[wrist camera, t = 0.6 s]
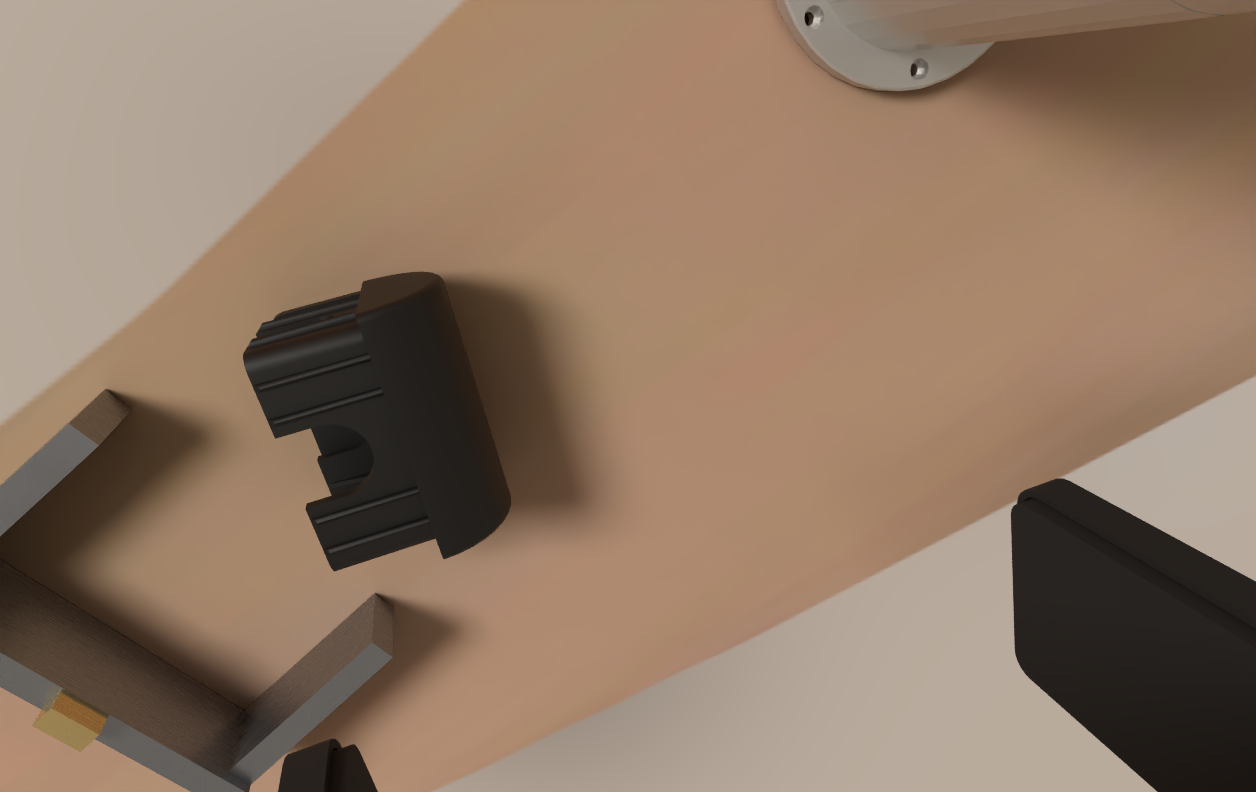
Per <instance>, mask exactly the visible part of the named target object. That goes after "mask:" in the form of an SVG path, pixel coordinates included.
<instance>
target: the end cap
mask: <svg viewBox="0 0 1256 792" xmlns="http://www.w3.org/2000/svg"><path fill="white" fill-rule="evenodd" d="M256 336H257V338H254V339H252V340H251V342H250V344H249V345H248V347H247V349H246V350H245V352H244V354H243V360H244V365H245V369H246V372H247V374H248V377H249V379H250V381H251V384H252V386H253V388H254V391H255V393H256V395H257V398H258V400H259V402H260V405H261V407H262V409H263V412H264V414H265V416H266V419H267V421H268V423H269V425H270V428H271V430H272V432H273V435H274V437H275V439H276V438H279V437H282V436H286V435H289V434H293V433H296V432H299V431H303V430H306V429H310V428H311V430H312V432H313V435H314V437H315V440H316V442H317V444H318V447H319V449H320V452H321V454H322V455H321V456H318V460H317V461H318V463H319V466H320V468H321V470H322V473H323V475H324V478H325V480H326V483H327V485H328V487H329V490H330V492H331V495H332V496H330V497H326V498H323V499H320V500H317V501H313V502H310V503H307V505H306V511H307V514H308V516H309V518H310V520H311V523H312V525H313V527H314V530H315V532H316V534H317V537H318V539H319V541H320V544H321V546H322V548H323V551H324V553H325V555H326V558H327V560H328V562H329V564H330V566H331V568H332V570H333V571H337V570H340V569H343V568H346V567H349V566H352V565H356V564H359V563H362V562H365V561H368V560H371V559H374V558H377V557H380V556H383V555H386V554H389V553H393V552H396V551H399V550H402V549H405V548H408V547H411V546H414V545H417V544H420V543H423V542H426V541H430V540H433V539H436V540H437V543H438V546H439V548H440V551H441V554H442V557H443V559H446V558H449V557H451V556H454V555H457V554H459V553H461V552H463V551H465V550H467V549H469V548H471V547H473V546H475V545H476V544H478V543H479V542H481V541H483V540H484V539H485V538H487V537H488V536H489V535H490V534H492V533H493V532H494V531H495V530H496V529H497V528H498V527H499V526H500V525H501V524H502V522H503V521H504V519H505V518H506V516H507V515H508V513H509V509H510V506H511V496H510V492H509V489H508V486H507V483H506V479H505V476H504V473H503V470H502V467H501V463H500V460H499V457H498V454H497V451H496V447H495V444H494V441H493V438H492V435H491V431H490V428H489V425H488V422H487V419H486V415H485V412H484V409H483V406H482V403H481V399H480V396H479V393H478V390H477V387H476V383H475V380H474V377H473V374H472V371H471V367H470V364H469V361H468V358H467V355H466V352H465V348H464V345H463V342H462V339H461V336H460V332H459V329H458V326H457V323H456V320H455V316H454V313H453V310H452V307H451V304H450V300H449V297H448V294H447V291H446V288H445V284H444V282H443V280H442V279H441V277H440V276H439V275H437V274H434V273H430V272H410V273H401V274H395V275H390V276H385V277H380V278H376V279H372V280H367V281H363V283H362V288H361V291H359V292H355V293H351V294H347V295H344V296H340V297H336V298H332V299H329V300H325V301H321V302H318V303H314V304H310V305H306V306H303V307H299V308H295V309H291V310H288V311H284V312H282V313H280V314H278V315H276V317H275V318H274V320H272V321H268V322H265V323H262V325H261V327H260V329H259V330H258V332H257V333H256Z"/></svg>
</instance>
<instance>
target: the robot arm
mask: <svg viewBox="0 0 1256 792" xmlns="http://www.w3.org/2000/svg"><path fill="white" fill-rule="evenodd" d="M775 1H776V4H777V7H778V10H779V13H780V15H781V17H782V18H783V20H784V22H785V24H786V25H787V27H788V29H789V31H790V33H791V34H792V36H793V38H794V39H795V41H796V42H797V43H798V44H799V45H800V47H801V48H802V49H803V50H804V51H805V52H806V54H807V55H808V56H809V57H810V58H811V60H813V61H814V62H815V63H817V64H818V65H819V66H820V67H822V68H823V69H824V70H826V71H827V72H828V73H829V74H831V75H832V76H834V77H836V78H838V79H840V80H843V81H845V82H847V83H849V84H851V85H853V86H857V87H861V88H866V89H871V90H876V91H905V90H914V89H921V88H925V87H928V86H930V85H933V84H936V83H939V82H941V81H944V80H947V79H949V78H951V77H952V76H954V75H956V74H957V73H959V72H960V71H962V70H964V69H965V68H967V67H969V66H970V65H972V64H973V63H974V62H975V61H976V60H977V59H978V58H979V57H980V56H982V55H983V54H984V53H985V52H986V51H987V50H988V49H989V48H990V47H992V45H993V44H994V43H995V42H999V41H1008V40H1017V39H1026V38H1035V37H1044V36H1053V35H1062V34H1070V33H1079V32H1088V31H1097V30H1106V29H1115V28H1124V27H1133V26H1142V25H1151V24H1160V23H1169V22H1178V21H1186V20H1195V19H1203V18H1210V17H1217V16H1224V15H1230V14H1240V13H1249V12H1256V0H775ZM805 13H806V14H807V15H808V17H809V23H808V24H807V25H806V23H805V20H804V17H805ZM910 69H912V70H911V72H910ZM1011 532H1012V564H1013V565H1012V567H1013V601H1014V634H1015V635H1014V636H1015V654H1016V657H1017V660H1018V663H1019V665H1020V667H1021V668H1022V670H1023V671H1024V673H1025V674H1026V675H1027V676H1028V677H1029V678H1030V679H1031V680H1032V681H1033V682H1034V683H1035V684H1037V685H1038V686H1039V687H1040V688H1041V689H1042V690H1043V691H1044V692H1046V693H1047V694H1048V695H1049V696H1050V697H1051V698H1052V699H1053V700H1055V701H1056V702H1057V703H1058V704H1059V705H1060V706H1061V707H1062V708H1064V709H1065V710H1066V711H1067V712H1068V713H1070V715H1072V716H1073V717H1074V718H1075V719H1076V720H1077V721H1078V722H1079V723H1081V724H1082V725H1083V726H1084V727H1085V728H1086V729H1087V730H1088V731H1090V732H1091V733H1092V734H1093V735H1094V736H1095V737H1096V738H1098V739H1099V740H1100V741H1101V742H1102V743H1103V744H1104V745H1105V746H1106V747H1108V748H1109V749H1110V750H1111V751H1112V752H1113V753H1114V754H1115V755H1117V756H1118V757H1119V758H1120V759H1121V760H1122V761H1123V762H1125V763H1126V764H1127V765H1128V766H1129V767H1130V768H1131V769H1132V770H1134V771H1135V772H1136V773H1137V774H1138V775H1139V776H1140V777H1141V778H1143V779H1144V780H1145V781H1146V782H1147V783H1148V784H1149V785H1150V786H1152V787H1153V788H1154V789H1155V790H1156V791H1157V792H1256V581H1254V580H1252V579H1250V578H1248V577H1246V576H1244V575H1243V574H1241V573H1239V572H1237V571H1235V570H1233V569H1231V568H1230V567H1228V566H1226V565H1224V564H1222V563H1220V562H1219V561H1217V560H1215V559H1213V558H1211V557H1209V556H1207V555H1205V554H1204V553H1202V552H1200V551H1198V550H1196V549H1194V548H1193V547H1191V546H1189V545H1187V544H1185V543H1183V542H1182V541H1180V540H1178V539H1176V538H1174V537H1172V536H1170V535H1169V534H1167V533H1165V532H1163V531H1161V530H1159V529H1157V528H1156V527H1154V526H1152V525H1150V524H1148V523H1146V522H1145V521H1143V520H1141V519H1139V518H1137V517H1135V516H1133V515H1132V514H1130V513H1128V512H1126V511H1124V510H1122V509H1121V508H1119V507H1117V506H1115V505H1113V504H1111V503H1109V502H1108V501H1106V500H1104V499H1102V498H1100V497H1098V496H1096V495H1095V494H1093V493H1091V492H1089V491H1087V490H1085V489H1084V488H1082V487H1080V486H1078V485H1076V484H1074V483H1072V482H1071V481H1068V480H1065V479H1055V480H1052V481H1049V482H1046V483H1043V484H1041V485H1038V486H1035V487H1032V488H1030V489H1027V490H1024V491H1023V492H1021V493H1020V495H1019V497H1018V501H1017V504H1016V505H1015V506H1013V508H1012V512H1011ZM278 792H378V791H377V789H376V787H375V784H374V782H373V780H372V778H371V776H370V773H369V771H368V769H367V767H366V765H365V762H364V760H363V758H362V756H361V753H360V751H359V750H358V748H357V746H356V745H354V744H352V745H349V746H347V747H344V748H342V747H341V745H340V743H339V742H338V741H337V740H336V739H330V740H327V741H324V742H322V743H319V744H316V745H313V746H310V747H308V748H305V749H302V750H299V751H297V752H294V753H291V754H288V755H287V756H286V757H285V759H284V763H283V767H282V772H281V778H280V784H279V790H278Z"/></svg>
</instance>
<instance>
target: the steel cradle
mask: <svg viewBox="0 0 1256 792" xmlns="http://www.w3.org/2000/svg"><path fill="white" fill-rule="evenodd" d="M131 410H132V409H131V408H130V407H129V406H127V405H126V404H125V403H123V402H122V401H121V400H119V399H118V398H117V397H115V396H114V395H113V394H111V393H110V392H109V391H108V390H106V389H105V390H104V391H103V392H102V393H101V394H100V395H98V396H97V397H96V398H95V399H94V400H93V401H92V402H91V403H90V404H89V405H88V406H87V407H85V408H84V409H83V410H82V411H81V412H80V413H79V414H78V415H77V416H76V417H75V418H73V419H72V420H71V421H70V422H69V423H68V424H67V425H66V426H65V427H64V428H63V429H62V430H60V431H59V432H58V433H57V434H56V435H55V436H54V437H53V438H52V439H51V440H50V441H49V442H47V443H46V444H45V445H44V446H43V447H42V448H41V449H40V450H39V451H38V452H37V453H35V454H34V455H33V456H32V457H31V458H30V459H29V460H28V461H27V462H26V463H25V464H24V465H22V466H21V467H20V468H19V469H18V470H17V471H16V472H15V473H14V474H13V475H12V476H11V477H9V478H8V479H7V480H6V481H5V482H4V483H3V484H2V485H1V486H0V536H1V535H2V534H3V533H4V532H6V531H7V530H8V529H9V528H10V527H11V526H12V525H13V524H14V523H15V522H16V521H17V520H19V519H20V518H21V517H22V516H23V515H24V514H25V513H26V512H27V511H28V510H29V509H31V508H32V507H33V506H34V505H35V504H36V503H37V502H38V501H39V500H40V499H41V498H43V497H44V496H45V495H46V494H47V493H48V492H49V491H50V490H51V489H52V488H53V487H55V486H56V485H57V484H58V483H59V482H60V481H61V480H62V479H63V478H64V477H65V476H66V475H68V474H69V473H70V472H71V471H72V470H73V469H74V468H75V467H76V466H77V465H78V464H80V463H81V462H82V461H83V460H84V459H85V458H86V457H87V456H88V455H89V454H90V453H92V452H93V451H94V450H95V449H96V448H97V447H98V446H99V445H100V444H101V443H102V442H103V441H104V440H105V438H106V437H107V436H108V435H109V434H110V433H111V432H112V431H113V430H114V429H115V427H116V426H117V425H118V424H119V423H120V422H121V421H122V420H123V419H124V418H125V416H126V415H127V414H128V413H129V412H130V411H131ZM393 629H394V607H393V606H391V605H390V604H389V603H387V602H386V601H385V600H383V599H382V598H381V597H379V596H378V595H377V594H374V595H372V596H371V597H370V598H369V599H368V600H367V601H366V602H365V603H364V604H362V605H361V606H360V607H359V608H358V609H357V610H356V611H355V612H354V613H352V614H351V615H350V616H349V617H348V618H347V619H346V620H345V621H344V622H342V623H341V624H340V625H339V626H338V627H337V628H336V629H335V630H333V631H332V632H331V633H330V634H329V635H328V636H327V637H326V638H325V639H323V640H322V641H321V642H320V643H319V644H318V645H317V646H316V647H315V648H313V649H312V650H311V651H310V652H309V653H308V654H307V655H306V656H305V657H303V658H302V659H301V660H300V661H299V662H298V663H297V664H296V665H294V666H293V667H292V668H291V669H290V670H289V671H288V672H287V673H286V674H284V675H283V676H282V677H281V678H280V679H279V680H278V681H277V682H276V683H274V684H273V685H272V686H271V687H270V688H269V689H268V690H267V691H266V692H264V693H263V694H262V695H261V696H260V697H259V698H258V699H257V700H255V701H254V702H253V703H252V704H251V705H250V706H249V707H248V708H247V709H245V710H242V709H240V708H239V707H237V706H236V705H234V704H232V703H231V702H229V701H228V700H226V699H224V698H223V697H221V696H219V695H218V694H216V693H215V692H213V691H211V690H210V689H208V688H207V687H205V686H203V685H202V684H200V683H198V682H197V681H195V680H194V679H192V678H190V677H189V676H187V675H186V674H184V673H182V672H181V671H179V670H178V669H176V668H174V667H173V666H171V665H169V664H168V663H166V662H165V661H163V660H161V659H160V658H158V657H157V656H155V655H153V654H152V653H150V652H148V651H147V650H145V649H144V648H142V647H140V646H139V645H137V644H136V643H134V642H132V641H131V640H129V639H128V638H126V637H124V636H123V635H121V634H119V633H118V632H116V631H115V630H113V629H111V628H110V627H108V626H107V625H105V624H103V623H102V622H100V621H98V620H97V619H95V618H94V617H92V616H90V615H89V614H87V613H86V612H84V611H82V610H81V609H79V608H78V607H76V606H74V605H73V604H71V603H69V602H68V601H66V600H65V599H63V598H61V597H60V596H58V595H57V594H55V593H53V592H52V591H50V590H48V589H47V588H45V587H44V586H42V585H40V584H39V583H37V582H36V581H34V580H32V579H31V578H29V577H27V576H26V575H24V574H23V573H21V572H19V571H18V570H16V569H15V568H13V567H11V566H10V565H8V564H7V563H5V562H3V561H2V560H0V687H2V688H3V689H5V690H7V691H9V692H11V693H13V694H14V695H16V696H18V697H20V698H22V699H23V700H25V701H27V702H29V703H31V704H33V705H34V706H36V707H38V708H40V709H42V710H41V712H40V713H39V715H38V717H37V718H36V720H35V722H34V723H33V725H32V726H33V727H35V728H37V729H39V730H41V731H42V732H44V733H46V734H48V735H50V736H52V737H54V738H55V739H57V740H59V741H61V742H63V743H65V744H67V745H68V746H70V747H72V748H74V749H76V750H78V751H80V752H81V751H82V750H83V749H84V748H85V747H86V746H88V745H89V744H90V743H91V742H92V741H93V740H94V739H96V740H98V741H100V742H102V743H103V744H105V745H107V746H109V747H111V748H113V749H114V750H116V751H118V752H120V753H122V754H123V755H125V756H127V757H129V758H131V759H133V760H134V761H136V762H138V763H140V764H142V765H143V766H145V767H147V768H149V769H151V770H153V771H154V772H156V773H158V774H160V775H162V776H163V777H165V778H167V779H169V780H171V781H173V782H174V783H176V784H178V785H180V786H182V787H183V788H185V789H187V790H189V791H191V792H249V790H250V785H251V784H252V783H253V782H254V781H255V780H257V779H258V778H259V777H260V776H261V775H262V774H263V773H264V772H266V771H267V770H268V769H269V768H270V767H271V766H272V765H273V764H274V763H276V762H277V761H278V760H279V759H280V758H281V757H282V756H283V755H285V754H286V753H287V752H288V751H289V750H290V749H291V748H292V747H294V746H295V745H296V744H297V743H298V742H299V741H300V740H301V739H302V738H304V737H305V736H306V735H307V734H308V733H309V732H310V731H311V730H313V729H314V728H315V727H316V726H317V725H318V724H319V723H320V722H322V721H323V720H324V719H325V718H326V717H327V716H328V715H329V714H330V713H332V712H333V711H334V710H335V709H336V708H337V707H338V706H339V705H341V704H342V703H343V702H344V701H345V700H346V699H347V698H348V697H349V696H351V695H352V694H353V693H354V692H355V691H356V690H357V689H358V688H360V687H361V686H362V685H363V684H364V683H365V682H366V681H367V680H369V679H370V678H371V677H372V676H373V675H374V674H375V673H376V672H377V671H379V670H380V669H381V668H382V667H383V666H384V665H385V664H386V663H388V662H389V661H390V660H391V659H392V658H393Z"/></svg>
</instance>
